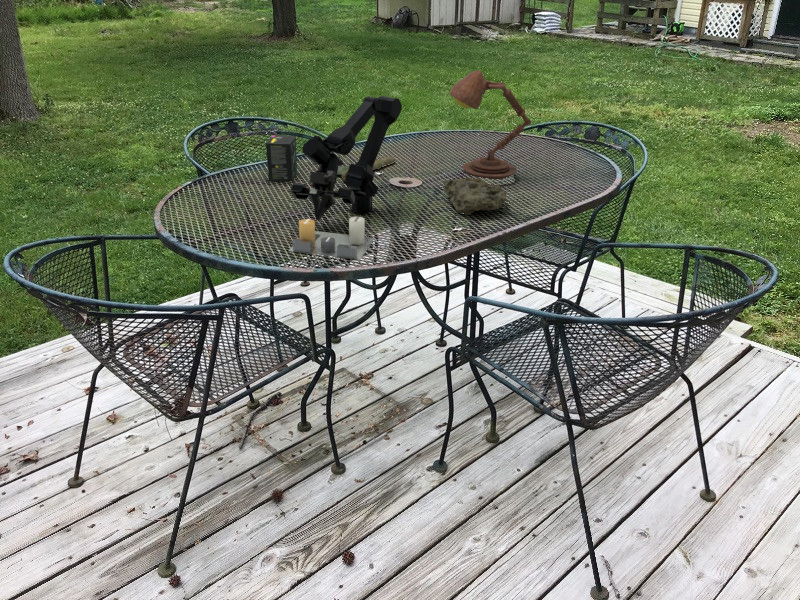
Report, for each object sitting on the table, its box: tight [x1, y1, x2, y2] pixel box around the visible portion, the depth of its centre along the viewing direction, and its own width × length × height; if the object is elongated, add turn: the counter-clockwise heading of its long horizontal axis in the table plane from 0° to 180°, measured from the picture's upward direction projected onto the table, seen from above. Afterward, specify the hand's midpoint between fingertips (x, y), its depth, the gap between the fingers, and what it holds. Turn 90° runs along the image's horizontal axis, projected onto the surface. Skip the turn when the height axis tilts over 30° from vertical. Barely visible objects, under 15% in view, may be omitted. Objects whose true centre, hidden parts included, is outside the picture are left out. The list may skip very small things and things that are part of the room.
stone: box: [443, 178, 507, 215], centre depth 221 cm, size 25×19×8 cm
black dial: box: [321, 237, 335, 252], centre depth 184 cm, size 4×4×3 cm
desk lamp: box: [449, 69, 532, 179], centre depth 242 cm, size 21×32×40 cm, turn 100°
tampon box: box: [265, 135, 298, 183], centre depth 242 cm, size 11×9×15 cm
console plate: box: [288, 230, 375, 260], centre depth 187 cm, size 16×21×4 cm
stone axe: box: [337, 156, 396, 181], centre depth 253 cm, size 26×5×30 cm
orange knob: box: [298, 218, 316, 247], centre depth 185 cm, size 4×4×7 cm
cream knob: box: [348, 216, 365, 245], centre depth 187 cm, size 4×4×7 cm
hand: (317, 219), depth 191 cm, fingers closed
